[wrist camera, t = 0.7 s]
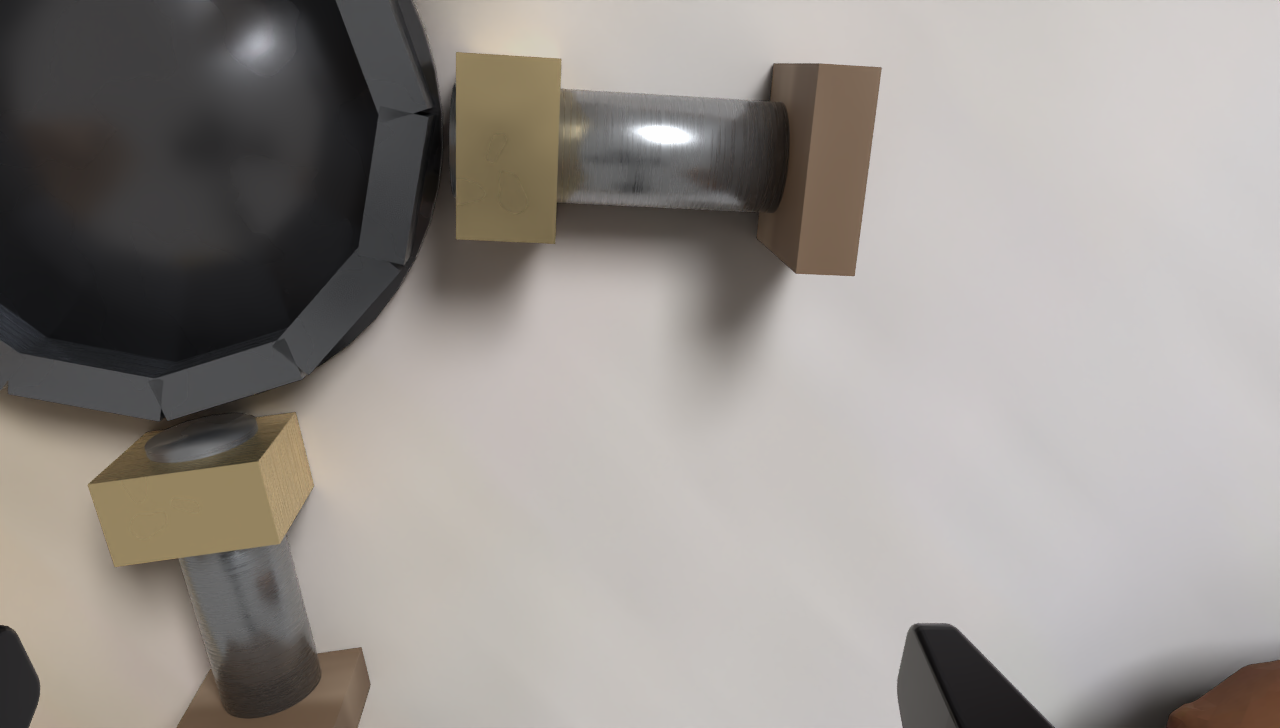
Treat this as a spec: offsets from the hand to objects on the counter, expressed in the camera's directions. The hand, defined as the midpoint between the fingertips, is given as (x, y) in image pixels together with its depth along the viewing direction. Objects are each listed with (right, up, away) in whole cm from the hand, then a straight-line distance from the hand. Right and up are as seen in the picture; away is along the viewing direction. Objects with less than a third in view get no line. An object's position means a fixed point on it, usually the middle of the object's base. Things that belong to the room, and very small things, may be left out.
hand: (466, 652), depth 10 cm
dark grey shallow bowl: (-9, +8, +11) cm, 17 cm away
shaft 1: (-8, -2, +15) cm, 17 cm away
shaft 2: (+2, +8, +12) cm, 15 cm away
